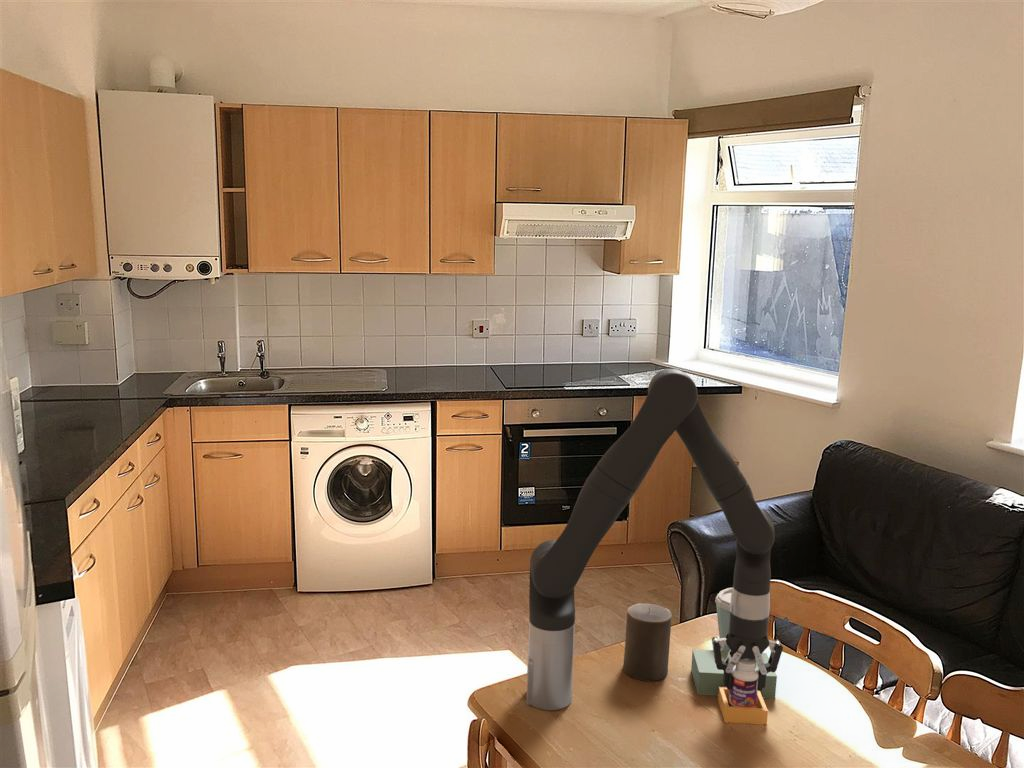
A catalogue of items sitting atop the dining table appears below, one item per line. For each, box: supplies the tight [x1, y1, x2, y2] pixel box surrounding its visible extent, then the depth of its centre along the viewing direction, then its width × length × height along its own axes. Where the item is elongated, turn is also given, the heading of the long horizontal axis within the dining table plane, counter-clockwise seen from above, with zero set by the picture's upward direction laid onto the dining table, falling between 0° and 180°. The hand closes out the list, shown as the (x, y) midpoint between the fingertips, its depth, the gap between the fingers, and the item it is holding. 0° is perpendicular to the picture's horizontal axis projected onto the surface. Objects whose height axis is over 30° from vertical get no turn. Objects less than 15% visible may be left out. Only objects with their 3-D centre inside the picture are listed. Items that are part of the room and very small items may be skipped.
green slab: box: [691, 648, 778, 726], centre depth 184 cm, size 16×20×5 cm
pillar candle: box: [622, 603, 673, 682], centre depth 193 cm, size 10×10×15 cm
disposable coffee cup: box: [714, 587, 733, 651], centre depth 201 cm, size 11×11×15 cm
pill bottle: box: [728, 659, 759, 708], centre depth 178 cm, size 5×5×10 cm
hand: (743, 687), depth 178 cm, fingers closed on pill bottle, 5 cm apart
